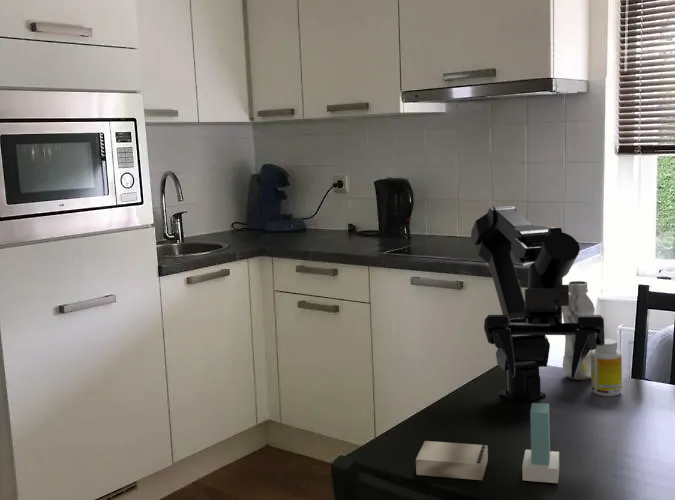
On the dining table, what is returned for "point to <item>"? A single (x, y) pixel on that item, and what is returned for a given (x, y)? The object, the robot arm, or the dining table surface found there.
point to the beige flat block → (452, 460)
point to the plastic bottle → (577, 306)
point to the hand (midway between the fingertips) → (542, 377)
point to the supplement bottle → (606, 369)
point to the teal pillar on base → (540, 448)
